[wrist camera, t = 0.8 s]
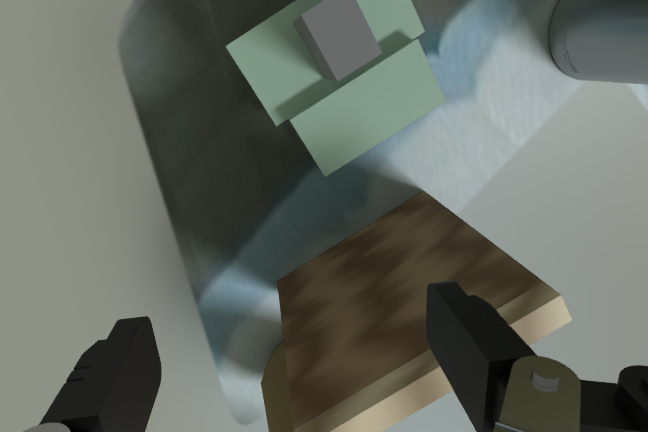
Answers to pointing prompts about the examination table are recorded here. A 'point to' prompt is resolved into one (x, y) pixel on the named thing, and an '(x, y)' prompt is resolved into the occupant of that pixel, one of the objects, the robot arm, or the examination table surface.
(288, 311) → the wall board
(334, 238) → the examination table surface
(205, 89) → the examination table surface
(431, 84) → the green box
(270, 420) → the squeeze bottle
